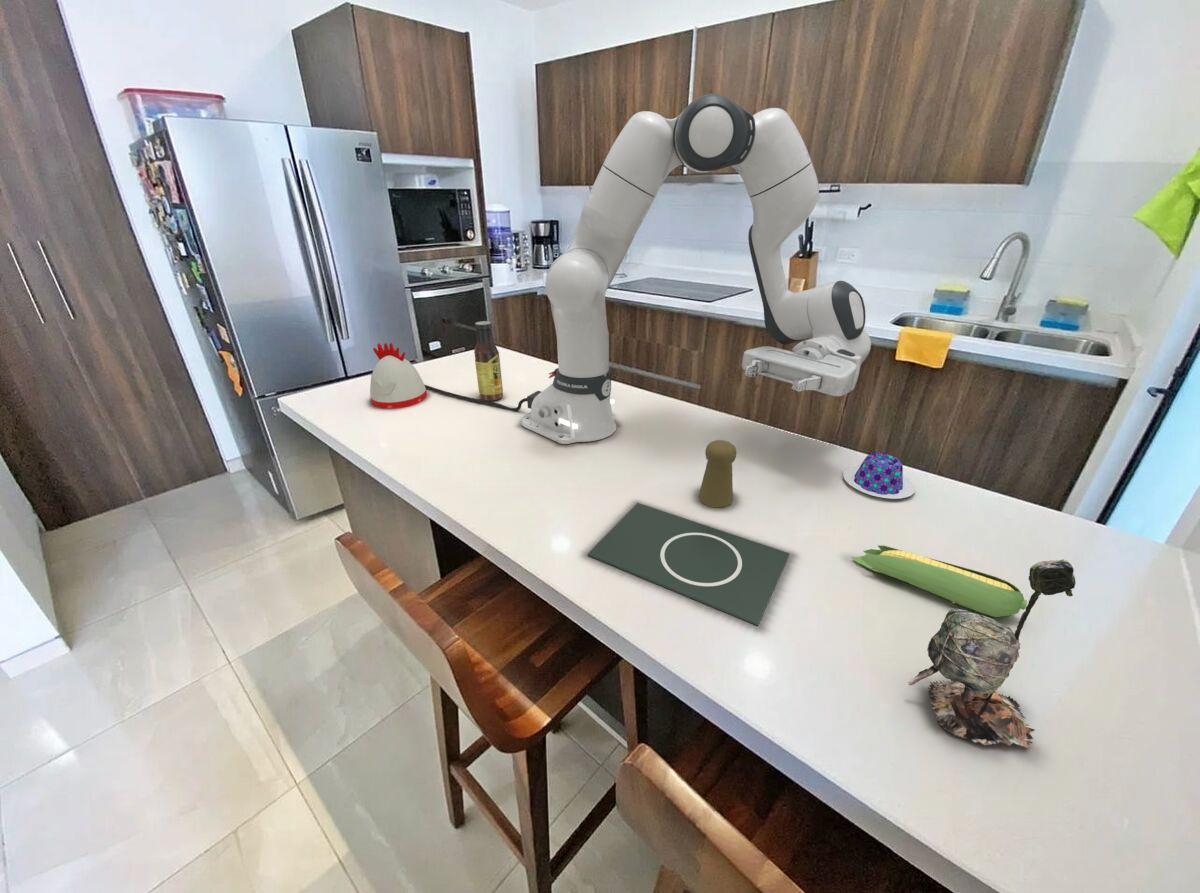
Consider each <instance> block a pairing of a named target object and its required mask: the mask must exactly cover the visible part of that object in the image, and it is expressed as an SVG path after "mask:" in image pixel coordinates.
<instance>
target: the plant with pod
mask: <svg viewBox="0 0 1200 893" xmlns="http://www.w3.org/2000/svg"><path fill="white" fill-rule="evenodd" d="M1074 572H1075V569H1074V568H1073V566H1072V564H1071V563H1070V562H1069V561H1068V560H1067V559H1056V560H1055V559H1053V560H1042V561H1039V562H1038V561H1037V562H1036V563H1035V564H1033V565H1031V567H1030V568H1029V573H1028V574H1029V575H1028V581H1029V586H1030V588H1031V589H1032V590H1033V591H1034V592H1033V593H1032V594H1031V596H1030V597H1029V600H1028V602H1027V605H1026V608H1025V610H1024V611H1023V612H1022V614H1021V617H1020V619H1019V620H1018V623H1017V626H1016V630H1015V631H1013V629H1012V628H1011V627H1009V626H1006V625H1005V624H1002V623H1000V622H999V621H998V620H995V619H994V618H992V617H990V616H989V617H988V616H987V615H984V614H981V613H976V612H974V611H969V610H967V609H960V608H950V610H949V611H948V612H946V614H945V617H944V619H943V622H942V623H941V625H940V628H939V629H938V631H937V632H936V633H934V635H933V636H932V637H931V638H930V640H929V642H928V644H927V650H926V651H927V656H928V658H929V659H930V661H931V662H932V665H931V666H930V667H929V668H925V669H923V670H921V671H919V672H918V674H917V675H916V676H915V677H913V678H912V679H910V681H907V685H908V686H913V685H915V684H916V683H918V682H920V681H921V680H924V679H926V678H928V677H930V676H933V675H934V674H937V673H938V672H939V673H940V674H941V675H942V676H943V677H944V678H945V679H947V680H946V681H945V680H944V679H942V681H941V679H940V680H939V679H938V680H936V681H929V683H930V684H929V687H927V688H928V692H929V694H928V695H929V696H930V705H933V707H932V708H931V709H932V710H933V713H934V714H935V718H936V719H935V720H936V722H937V721H938V725H940V726H941V727H942V728H943V730H945V731H947V732H949V734H951V735H952V736H955V737H957V736H958V737H959V738H962V739H965V740H967V739H968V740H969V741H972V742H973V743H980V744H981V745H984V746H986V745H987V746H989V745H992V744H993V745H999V744H1000V743H1002V744H1005V745H1006V746H1009V747H1011V746H1012V745H1013V744H1015V745H1017V746H1021V747H1024V748H1026V749H1029V748H1030V746H1031V745H1032V744H1033V741H1031V740H1033V739H1034V737H1033V736H1032V735H1031V734H1030V733H1033V732H1035V731H1036V729H1035V728H1031V727H1030V724H1028V723H1027V721H1026V720H1025V719H1027V718H1026V717H1025V715H1023V712H1022V708H1020V707H1021V704H1020V703H1019V702H1018V701H1017V700H1015V699H1014V698H1013V697H1011V696H1010V695H1008V696H1007V695H1004V694H1003V693H1002V694H1001V693H998V692H997V691H998V689H999V688H1001V687H1002V685H1003V684H1004V682H1005V681H1006V679H1008V678H1009V677H1010V672H1011V670H1012V669H1013V668H1014V665H1015V663H1016V662H1017V661H1018V659H1019V658H1020V652H1019V650H1020V649H1021V643H1020V635H1021V631H1022V629H1023V628H1024V624H1025V622H1026V621H1027V618H1028V616H1029V615H1030V613H1031V610H1032V608H1034V605H1036V603H1037V601H1038V599H1039V598H1040V596H1041V595H1043V596H1053V595H1056V594H1061V593H1064V592H1065V595H1066V596H1067V597H1073V596H1074V594H1073V589H1075V587H1076V584H1077V582H1076V576H1075V575H1074ZM955 602H956V601H952V602H951V603H952V604H956V603H955Z"/></svg>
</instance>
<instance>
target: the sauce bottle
mask: <svg viewBox="0 0 1200 893" xmlns="http://www.w3.org/2000/svg"><path fill="white" fill-rule="evenodd" d="M474 327H475V330H476V340H477V342H476V345H475V346H474V348H473V350H474V351H473V352H474V364H475V371H476V372H475V373H476V379H477V388H478V393H479V399H480V400H484V401H490V402H494V401H498V400H500V399H501V398H503V396H504V395H503V394H504V392H503V391H504V387H503V376H502V369H501V359H500V352H499V350H498V347H497V345H496V344H495V341H494V337H493V330H492V328H493V326H492V322H491V321H489V320H488V321H487V320H482V321H477V322H475V323H474Z"/></svg>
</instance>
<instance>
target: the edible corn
mask: <svg viewBox="0 0 1200 893" xmlns="http://www.w3.org/2000/svg"><path fill="white" fill-rule="evenodd" d="M877 547H878V548H879V549H875V548H874V549H873V548H869V549H865V550H863V553H864V554H865V555H861V556H852V557H851V559H852V560H854V562H856V563H858V564H860V565H862V566H863V567H865V568H867V569H869V570H871V571H872V572H873V571H874V572H875V573H879V574H882V575H884V576H886V577H890V578H892V579H896V580H898V581H901V582H904V583H906V584H908V585H911V586H913V587H915V588H918V589H920V590H922V591H925V592H927V593H930V594H933V595H935V596H937V597H939V598H942V599H944V600H947V601H949V602H950V603H952V601H956V602H955V603H954V604H956V605H958V606H961V607H964V608H967V609H969V610H971V611H973V612H977V613H978V614H981V615H984V616H987V617H988V616H989V617H990V618H1005V617H1010V616H1014V615H1016V614H1018V613H1019V612H1020V611H1021V610H1023V611H1025V610H1026V606H1027V605H1028V600H1027V599H1025V598H1024V594H1023V593H1022V592H1021V590H1020V589H1019V588H1018V587H1017V586H1016V585H1015V584H1012V583H1011V582H1009V581H1007V580H1005V579H1002V578H1000V577H998V576H994V575H991V574H987V573H984V572H982V571H978V570H974V569H970V568H966V567H964V566H960V565H956V564H953V563H948V562H945V561H941V560H937V559H934V558H931V557H927V556H923V555H920V554H916V553H913V552H908V551H905V550H902V549H898V548H895V547H891V546H887V545H877Z"/></svg>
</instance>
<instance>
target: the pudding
mask: <svg viewBox="0 0 1200 893" xmlns="http://www.w3.org/2000/svg"><path fill="white" fill-rule="evenodd" d="M842 477H843V479H844V480H845V482H846V483H847V484H848V485H850V486H851V487H852V488H853V489H856V490H858V491H859V492H862V493H864V494H867V495H870V496H873V497H877V498H882V499H883V498H884V499H891V500H892V499H894V500H895V499H897V500H898V499H905V498H909V497H910V496H912V495H913V494H914V493H915V492H916V486H915V484H914V482H913V481H912V480H911V479H910V478H909V477H907V476H906V475H904V467H903V463H902V462H901V461H900V459H899V458H897V457H895V456H892V455H890V454H887V453H880V452H873V453H870V454H868V455H866V456H865V458H864V459H863V461H862V463H860V464H853V465H850V466H848V467H847V468H845V469H844V470H843V472H842Z"/></svg>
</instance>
